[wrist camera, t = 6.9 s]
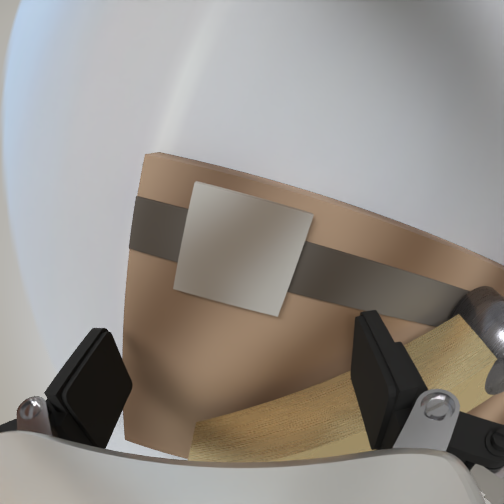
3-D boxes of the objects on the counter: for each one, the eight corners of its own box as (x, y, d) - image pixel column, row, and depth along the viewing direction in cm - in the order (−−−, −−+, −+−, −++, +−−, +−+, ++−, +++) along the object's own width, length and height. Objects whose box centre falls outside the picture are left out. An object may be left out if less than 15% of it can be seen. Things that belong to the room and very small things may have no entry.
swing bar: (496, 273, 10) (545, 313, 7) (499, 324, 11) (537, 366, 8) (192, 411, 13) (178, 470, 10) (227, 444, 14) (220, 498, 11)
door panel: (578, 304, 13) (590, 314, 11) (474, 450, 19) (479, 463, 17) (159, 152, 11) (142, 154, 9) (131, 423, 17) (123, 443, 15)
